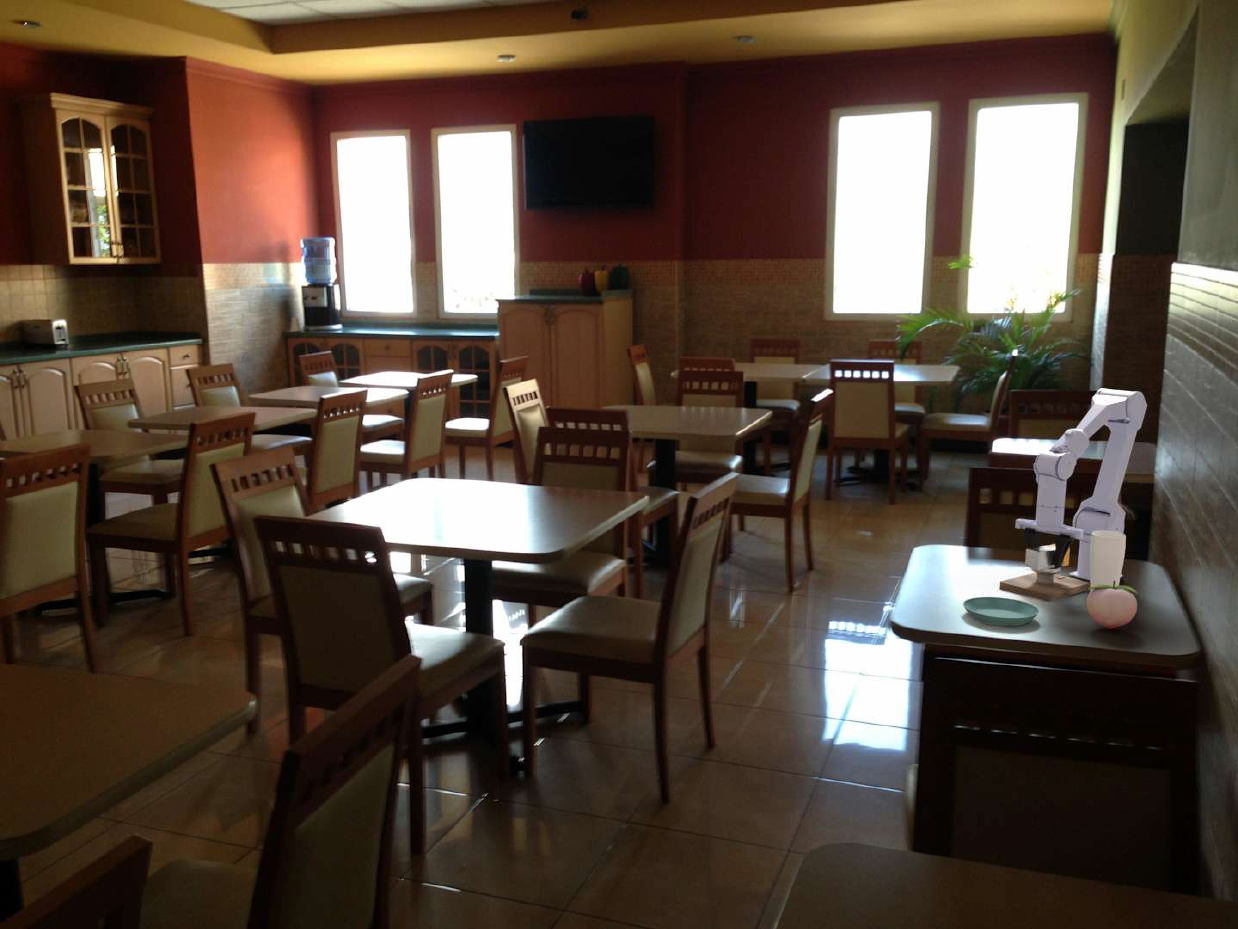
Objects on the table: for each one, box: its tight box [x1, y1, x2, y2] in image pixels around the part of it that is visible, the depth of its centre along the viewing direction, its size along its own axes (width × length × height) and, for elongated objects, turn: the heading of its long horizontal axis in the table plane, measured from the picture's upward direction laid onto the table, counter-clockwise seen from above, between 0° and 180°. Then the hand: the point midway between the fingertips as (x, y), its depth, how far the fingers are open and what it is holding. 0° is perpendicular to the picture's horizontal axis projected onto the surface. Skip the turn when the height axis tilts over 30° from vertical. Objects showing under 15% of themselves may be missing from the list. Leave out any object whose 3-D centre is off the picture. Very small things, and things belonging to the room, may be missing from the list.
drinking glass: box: [1089, 530, 1127, 593], centre depth 223 cm, size 7×7×15 cm
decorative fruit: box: [1086, 581, 1140, 630], centre depth 205 cm, size 9×8×10 cm
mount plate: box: [998, 572, 1090, 602], centre depth 232 cm, size 16×12×4 cm
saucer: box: [962, 596, 1040, 627], centre depth 212 cm, size 15×15×3 cm
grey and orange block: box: [1024, 543, 1071, 575], centre depth 232 cm, size 6×9×5 cm, turn 115°
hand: (1045, 564), depth 232 cm, fingers closed on grey and orange block, 5 cm apart
